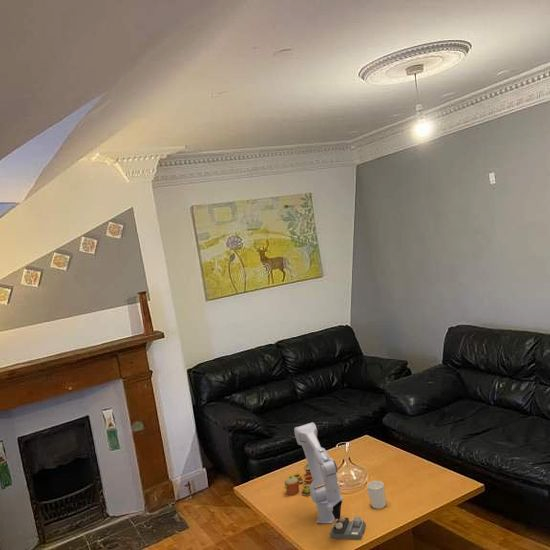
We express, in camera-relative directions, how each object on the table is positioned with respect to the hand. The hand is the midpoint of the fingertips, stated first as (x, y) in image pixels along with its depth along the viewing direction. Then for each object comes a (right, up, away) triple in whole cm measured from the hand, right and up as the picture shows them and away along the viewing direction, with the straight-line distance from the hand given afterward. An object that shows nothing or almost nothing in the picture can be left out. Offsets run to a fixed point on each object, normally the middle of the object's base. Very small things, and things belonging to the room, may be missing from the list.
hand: (337, 518), depth 230 cm
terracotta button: (+3, -4, +5) cm, 7 cm away
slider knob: (+9, -4, +2) cm, 10 cm away
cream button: (+1, -5, 0) cm, 5 cm away
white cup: (+22, -3, +19) cm, 29 cm away
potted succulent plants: (-12, -7, +53) cm, 55 cm away
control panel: (+5, -7, +2) cm, 9 cm away
